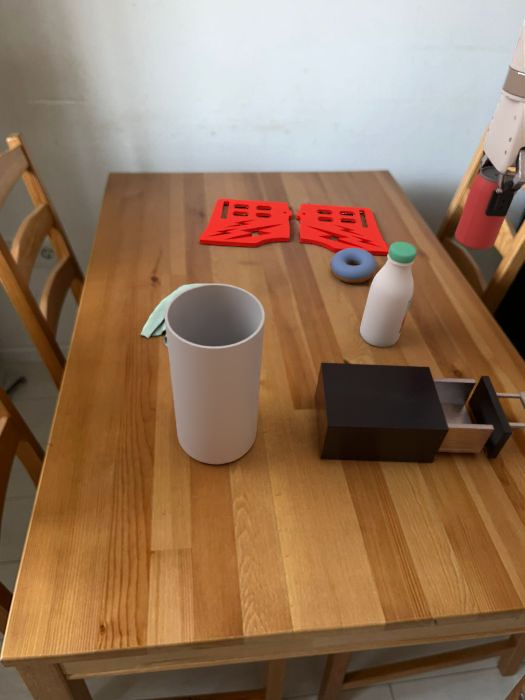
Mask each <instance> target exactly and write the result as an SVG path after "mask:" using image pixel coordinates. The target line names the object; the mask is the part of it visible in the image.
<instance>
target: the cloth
mask: <svg viewBox="0 0 525 700" xmlns="http://www.w3.org/2000/svg"><path fill="white" fill-rule="evenodd" d="M203 284H209V283H190V284H189V283H188V284H182V285H181V286H178V287H177V289H175V290H174V291H172V292H171V293H170V294H169V295H168V296H166V297H165V298H163V299H161V301H159V303H158V304H157V306H156V307H155V308H154V310H153V311H152V312H151V314H150V315H149V317H148V318H147V320H146V323H145V324H144V326H143V328H142V330H141V332H140V337H141V336H142V337H146V338H147V339H150V337H158V336H162V334H163V332H164V331H166V325H165V310H166V307H167V305H168V304H169V302H170V301H171V300H172V299H173V298H174V297H175V296H176V295H177V294H179V293H180V292H182V291H184V290H186V289H188V288H191V287H194V286H198V285H203ZM163 344H164V346H165V347H166V348H168V344H167V335H166V334H165V335H164V338H163Z"/></svg>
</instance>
